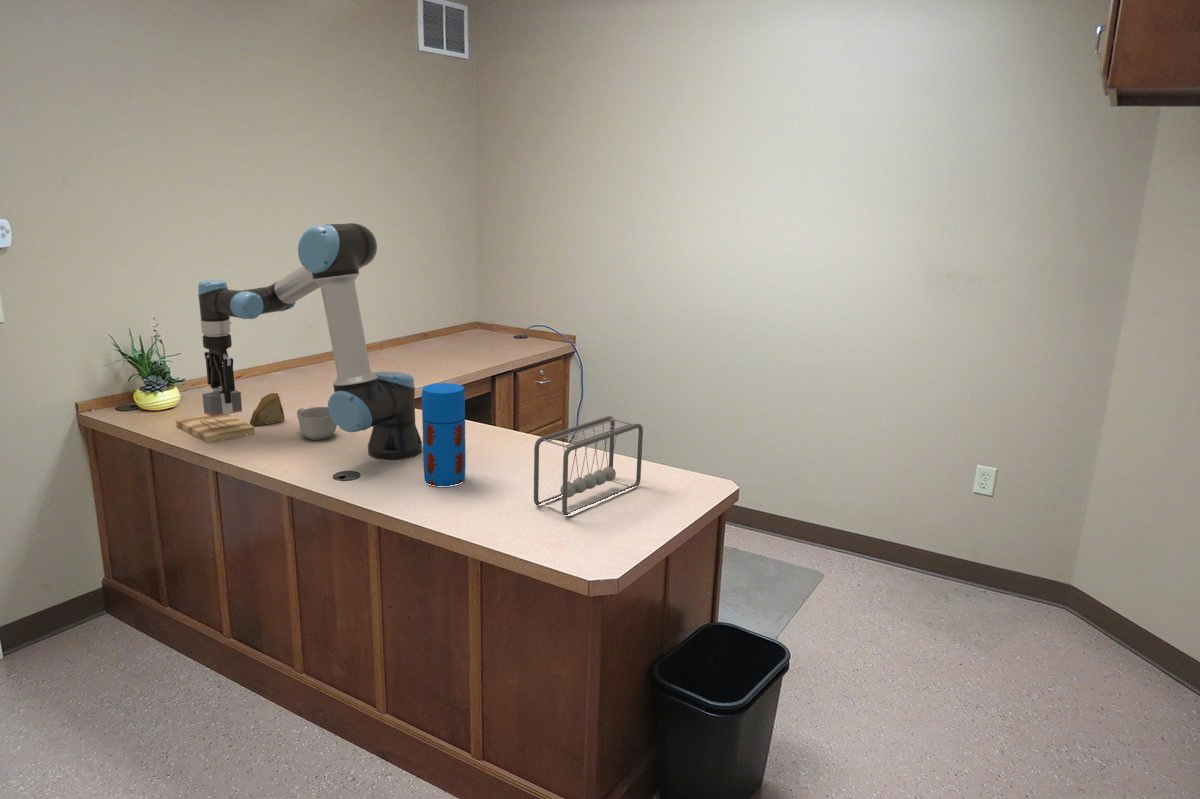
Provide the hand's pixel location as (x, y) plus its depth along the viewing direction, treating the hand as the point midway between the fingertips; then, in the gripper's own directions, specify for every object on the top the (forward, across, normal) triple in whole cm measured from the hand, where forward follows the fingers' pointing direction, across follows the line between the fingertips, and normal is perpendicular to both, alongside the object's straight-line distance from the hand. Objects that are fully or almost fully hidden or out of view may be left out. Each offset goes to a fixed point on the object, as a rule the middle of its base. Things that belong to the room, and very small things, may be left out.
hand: (223, 411), depth 243 cm
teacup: (+8, -18, -19) cm, 27 cm away
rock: (+8, +4, -15) cm, 17 cm away
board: (+7, +7, 0) cm, 10 cm away
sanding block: (0, 0, 0) cm, 0 cm away
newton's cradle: (+7, -108, -43) cm, 117 cm away
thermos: (+7, -74, -24) cm, 78 cm away
